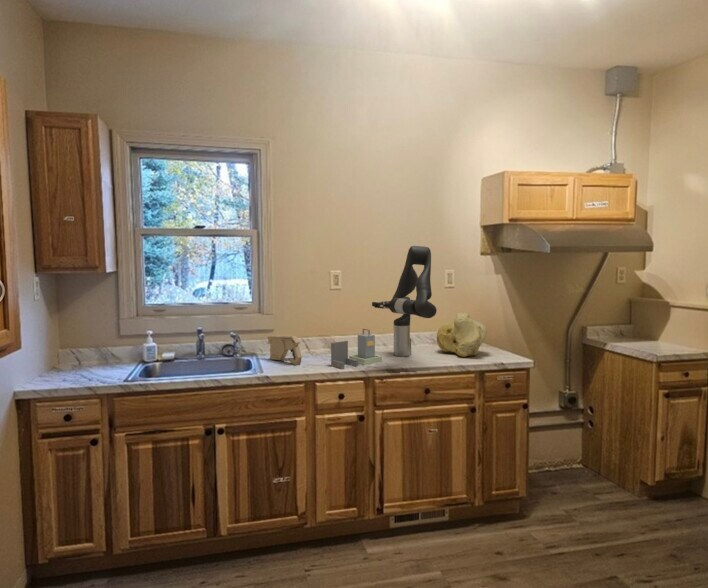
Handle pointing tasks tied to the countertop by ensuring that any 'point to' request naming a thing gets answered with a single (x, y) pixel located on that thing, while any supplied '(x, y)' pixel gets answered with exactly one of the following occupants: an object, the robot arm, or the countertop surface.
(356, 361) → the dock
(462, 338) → the sculpture
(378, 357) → the tray
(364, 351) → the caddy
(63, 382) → the countertop surface
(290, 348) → the tan cutout panel
